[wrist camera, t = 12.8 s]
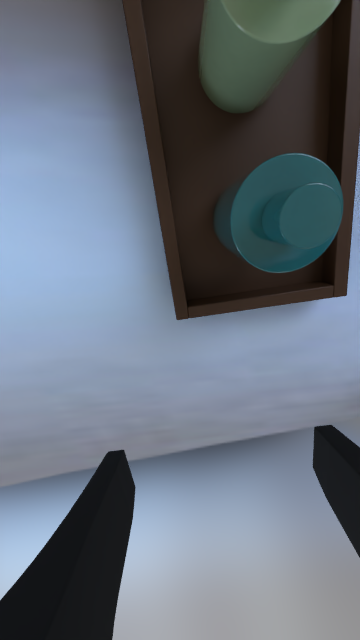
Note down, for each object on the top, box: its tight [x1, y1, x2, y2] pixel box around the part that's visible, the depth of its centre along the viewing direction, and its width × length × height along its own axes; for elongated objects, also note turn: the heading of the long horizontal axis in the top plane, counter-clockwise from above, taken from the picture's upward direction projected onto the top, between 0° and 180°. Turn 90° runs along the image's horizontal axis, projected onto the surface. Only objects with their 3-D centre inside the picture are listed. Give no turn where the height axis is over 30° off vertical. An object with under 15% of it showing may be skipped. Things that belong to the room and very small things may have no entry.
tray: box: [122, 0, 360, 320], centre depth 13 cm, size 11×26×2 cm, turn 9°
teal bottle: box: [213, 153, 343, 273], centre depth 12 cm, size 4×4×8 cm
